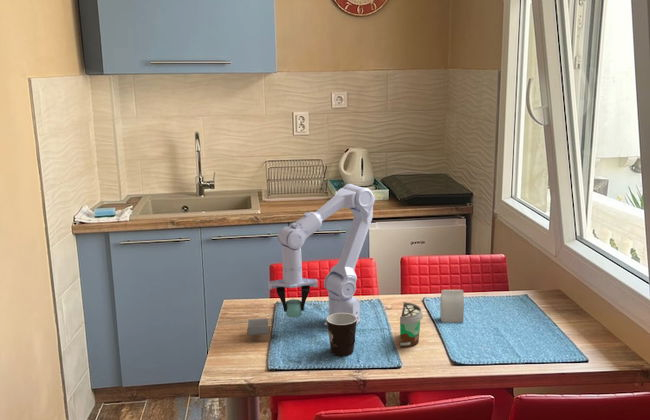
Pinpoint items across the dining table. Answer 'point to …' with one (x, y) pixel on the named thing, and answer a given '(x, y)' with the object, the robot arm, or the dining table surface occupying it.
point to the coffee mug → (342, 333)
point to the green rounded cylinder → (293, 308)
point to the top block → (258, 327)
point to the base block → (259, 337)
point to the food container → (410, 325)
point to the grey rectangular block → (452, 306)
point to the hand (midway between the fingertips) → (293, 310)
